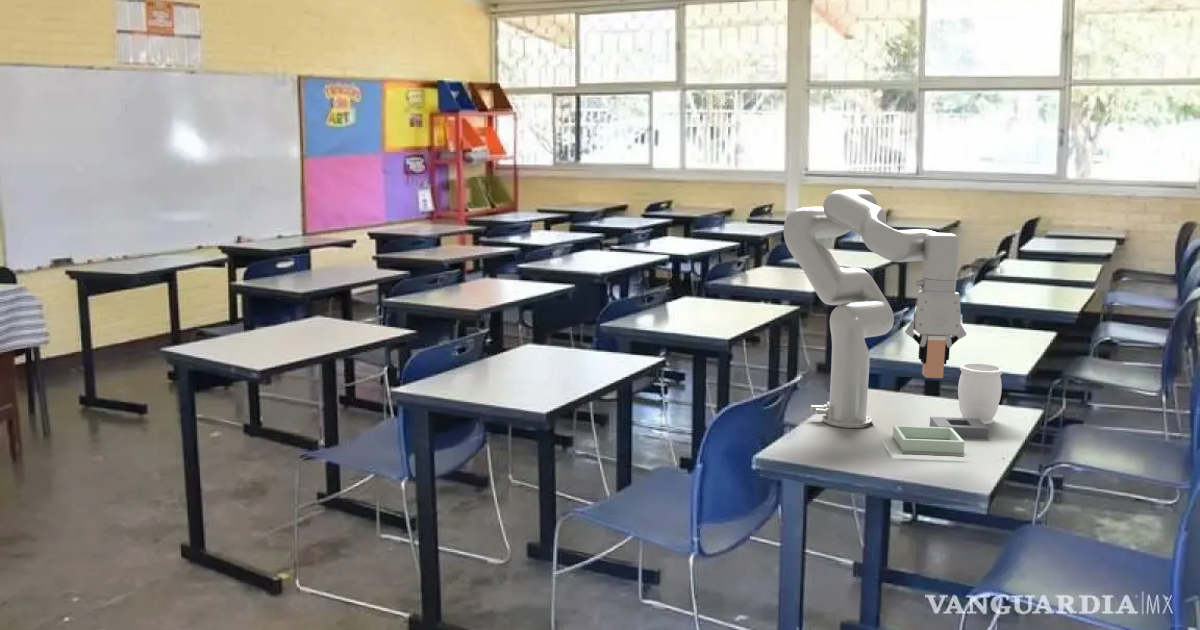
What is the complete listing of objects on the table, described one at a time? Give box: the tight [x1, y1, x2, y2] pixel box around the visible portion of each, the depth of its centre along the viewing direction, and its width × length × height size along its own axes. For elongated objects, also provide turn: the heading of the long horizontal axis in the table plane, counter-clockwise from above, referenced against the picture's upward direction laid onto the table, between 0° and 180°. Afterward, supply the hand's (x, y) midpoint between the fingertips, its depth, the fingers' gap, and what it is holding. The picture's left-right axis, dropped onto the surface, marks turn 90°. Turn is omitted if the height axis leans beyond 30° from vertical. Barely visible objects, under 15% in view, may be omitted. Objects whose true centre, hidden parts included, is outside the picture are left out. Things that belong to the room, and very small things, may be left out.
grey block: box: [929, 416, 990, 439], centre depth 258 cm, size 12×9×4 cm
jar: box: [957, 363, 1004, 425], centre depth 269 cm, size 11×10×15 cm
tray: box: [892, 425, 965, 458], centre depth 247 cm, size 14×12×4 cm
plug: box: [921, 335, 946, 379], centre depth 244 cm, size 4×4×10 cm
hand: (933, 361), depth 244 cm, fingers closed on plug, 4 cm apart
